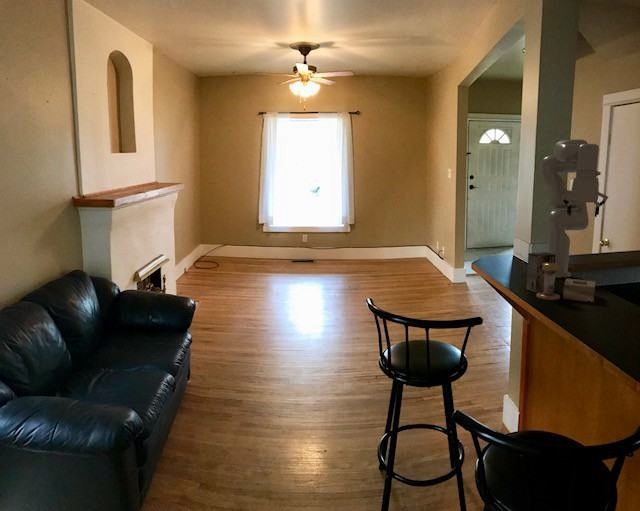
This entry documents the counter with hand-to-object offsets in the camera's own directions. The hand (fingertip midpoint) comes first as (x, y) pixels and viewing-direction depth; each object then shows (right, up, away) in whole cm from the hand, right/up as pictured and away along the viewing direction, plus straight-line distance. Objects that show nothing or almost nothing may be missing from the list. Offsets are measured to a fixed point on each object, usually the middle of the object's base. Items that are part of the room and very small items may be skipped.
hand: (582, 216), depth 213 cm
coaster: (-16, -34, -3) cm, 37 cm away
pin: (-16, -33, -3) cm, 36 cm away
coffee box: (-14, -32, +9) cm, 36 cm away
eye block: (-3, -34, -3) cm, 34 cm away
